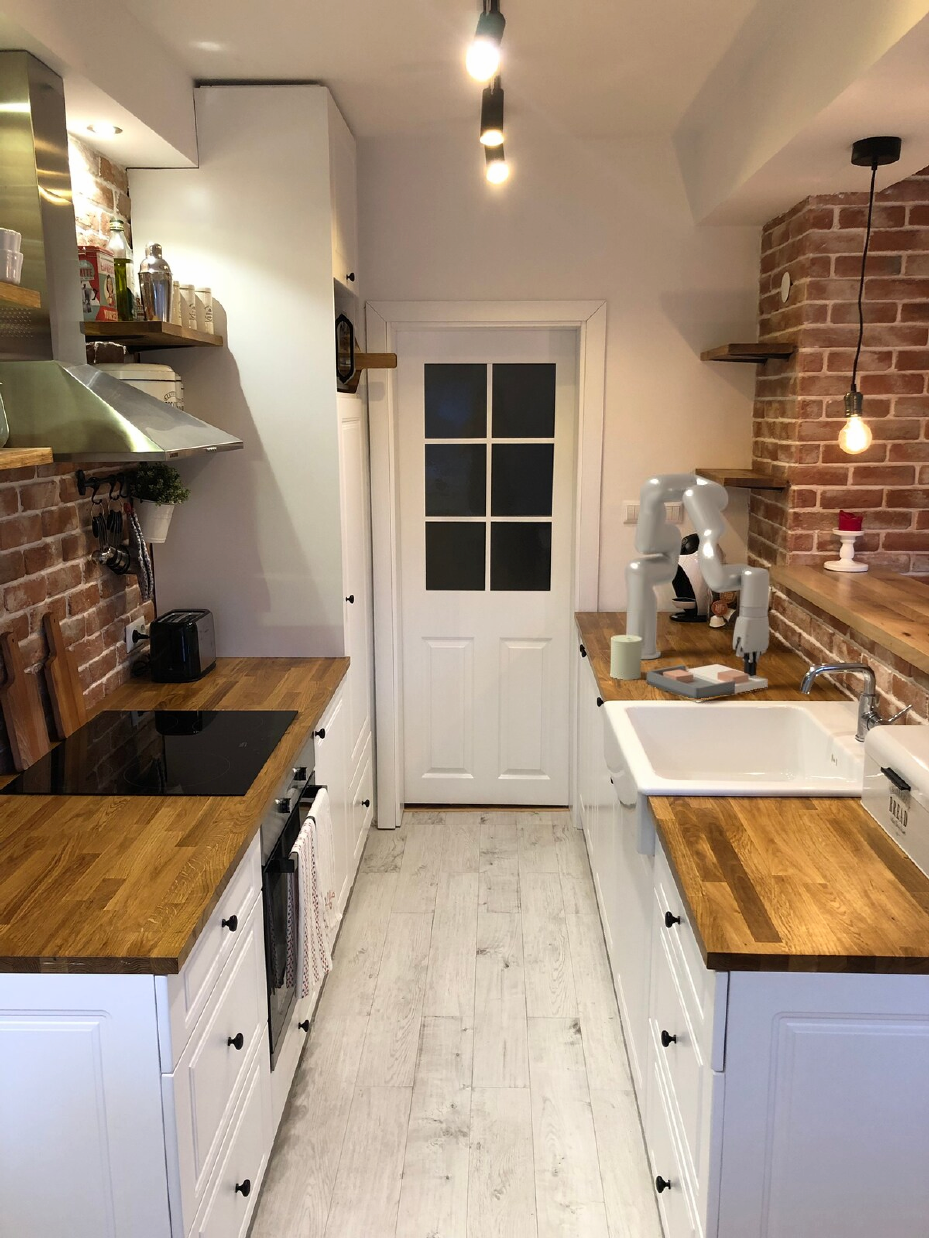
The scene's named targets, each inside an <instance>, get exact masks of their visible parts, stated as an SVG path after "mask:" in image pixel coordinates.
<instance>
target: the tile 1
mask: <svg viewBox="0 0 929 1238" xmlns="http://www.w3.org/2000/svg"><path fill="white" fill-rule="evenodd" d="M663 676H665V677H668V678H671V679H674V680H677V681H680V682H683V683H684V682H690V681H693V674H691V673H688V672H686V671H683V670H673V671H667V672H663Z"/></svg>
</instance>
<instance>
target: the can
mask: <svg viewBox="0 0 929 1238" xmlns="http://www.w3.org/2000/svg"><path fill="white" fill-rule="evenodd" d="M641 647H642V638H641V637H638V636H633V635H626V634H617V635H614V636H611V638H610V673H609V676H610V677H611V678H612V677H613V679H615V678H617V679H616V680H620V679H623V680H622V681H634V680H633V679H635V680H639V679H640V678H641V677H642V669H641V668H642V659H641ZM638 678H639V679H638Z"/></svg>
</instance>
